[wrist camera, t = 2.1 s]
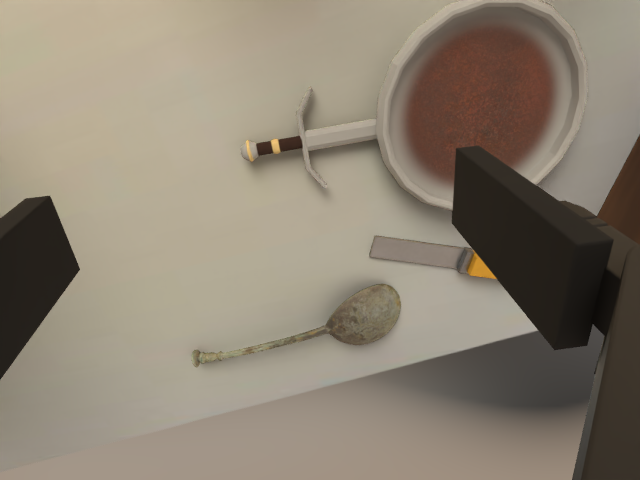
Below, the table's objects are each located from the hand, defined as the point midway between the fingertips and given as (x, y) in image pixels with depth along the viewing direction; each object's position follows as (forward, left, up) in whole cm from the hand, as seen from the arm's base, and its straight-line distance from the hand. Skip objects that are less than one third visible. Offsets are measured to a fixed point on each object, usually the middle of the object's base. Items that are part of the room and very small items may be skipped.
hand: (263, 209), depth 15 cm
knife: (+21, -12, -23) cm, 33 cm away
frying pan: (+12, 0, -23) cm, 26 cm away
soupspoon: (+6, -23, -23) cm, 33 cm away
